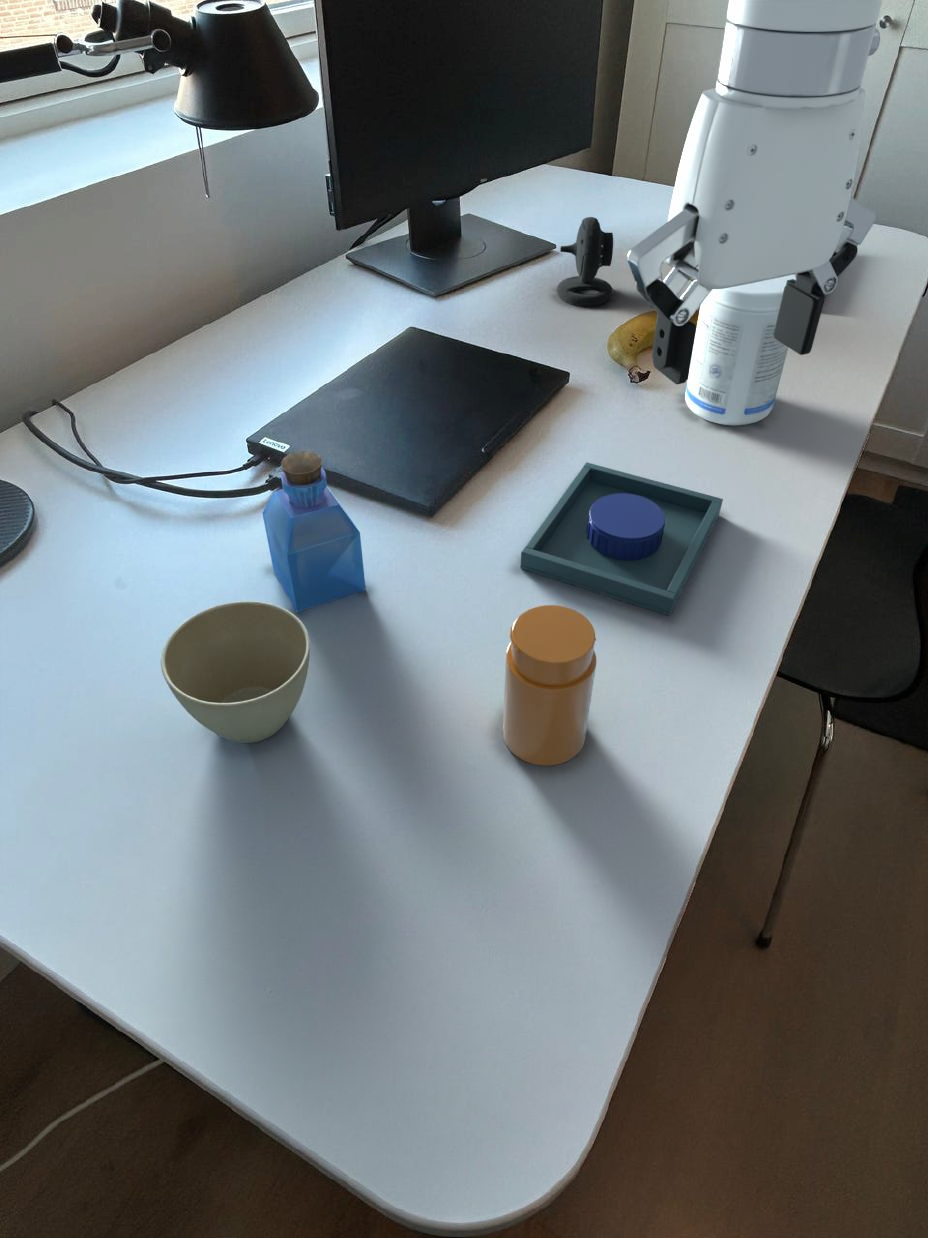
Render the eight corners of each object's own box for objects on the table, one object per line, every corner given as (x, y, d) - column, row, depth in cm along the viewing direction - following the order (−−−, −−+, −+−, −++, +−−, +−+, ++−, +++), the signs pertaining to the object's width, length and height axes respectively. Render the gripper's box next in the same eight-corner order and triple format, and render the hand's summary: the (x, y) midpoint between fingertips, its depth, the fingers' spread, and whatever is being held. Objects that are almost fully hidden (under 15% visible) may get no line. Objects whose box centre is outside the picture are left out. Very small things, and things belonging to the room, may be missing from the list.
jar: (560, 692, 67) (571, 592, 60) (600, 749, 63) (617, 649, 56) (489, 716, 65) (492, 616, 58) (525, 777, 61) (533, 677, 54)
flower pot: (212, 794, 60) (189, 727, 55) (165, 700, 66) (141, 632, 61) (344, 733, 64) (334, 666, 59) (288, 650, 70) (274, 582, 65)
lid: (575, 520, 82) (578, 498, 80) (643, 510, 83) (647, 488, 81) (601, 566, 77) (605, 543, 75) (673, 554, 78) (678, 531, 76)
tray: (584, 477, 87) (586, 461, 86) (719, 515, 83) (723, 498, 82) (520, 568, 77) (521, 551, 76) (669, 616, 73) (673, 599, 72)
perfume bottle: (273, 569, 77) (250, 452, 69) (339, 549, 79) (324, 433, 71) (297, 612, 73) (275, 493, 65) (365, 589, 75) (353, 472, 67)
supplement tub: (761, 385, 101) (794, 256, 91) (780, 429, 94) (818, 295, 84) (676, 384, 101) (699, 255, 91) (689, 428, 94) (716, 294, 84)
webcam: (614, 307, 116) (624, 229, 109) (558, 307, 116) (564, 229, 109) (609, 283, 121) (617, 207, 115) (555, 283, 122) (560, 207, 115)
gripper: (870, 34, 52) (800, 315, 64) (615, 64, 47) (589, 362, 59) (969, 58, 47) (873, 358, 58) (694, 94, 42) (649, 413, 54)
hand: (731, 360), depth 59 cm, fingers open, 9 cm apart
